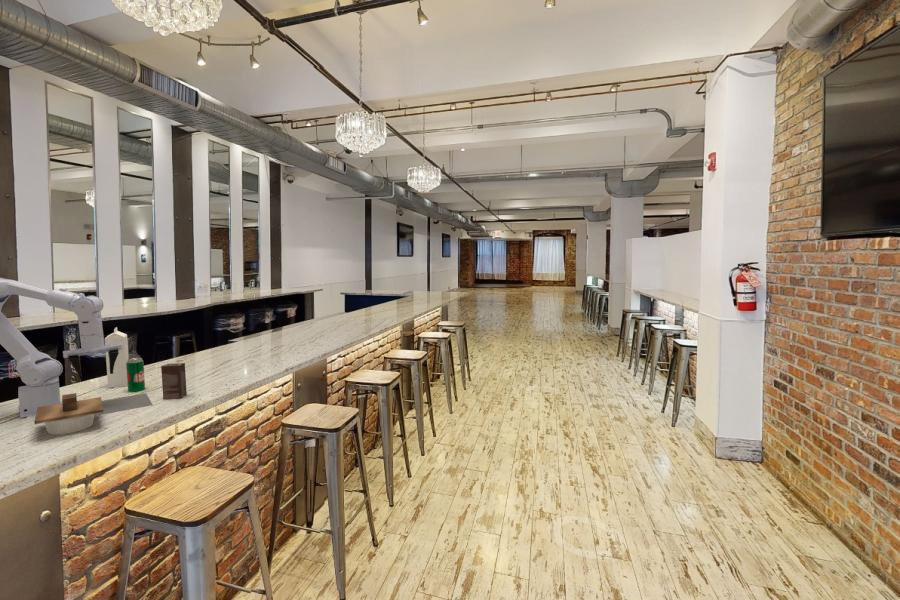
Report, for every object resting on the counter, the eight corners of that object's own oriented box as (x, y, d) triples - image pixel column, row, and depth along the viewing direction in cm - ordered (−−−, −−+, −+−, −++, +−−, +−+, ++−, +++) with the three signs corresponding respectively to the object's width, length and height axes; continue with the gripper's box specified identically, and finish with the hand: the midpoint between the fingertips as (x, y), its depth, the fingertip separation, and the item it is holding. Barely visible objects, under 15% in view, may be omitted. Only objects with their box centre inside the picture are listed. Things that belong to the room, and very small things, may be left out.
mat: (89, 418, 130) (89, 416, 129) (87, 404, 141) (87, 403, 141) (153, 406, 140) (152, 405, 140) (146, 394, 152) (146, 393, 152)
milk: (108, 388, 159) (103, 329, 156) (111, 384, 164) (106, 327, 162) (128, 386, 162) (124, 328, 159) (130, 382, 167) (126, 326, 165)
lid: (34, 424, 112) (33, 408, 111) (37, 409, 122) (36, 395, 122) (103, 412, 121) (102, 397, 120) (101, 399, 131) (100, 385, 131)
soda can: (136, 393, 153) (134, 360, 152) (124, 392, 154) (122, 360, 153) (148, 389, 158) (146, 357, 157) (137, 388, 159) (135, 356, 158)
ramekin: (82, 419, 129) (81, 402, 128) (105, 425, 124) (104, 408, 124) (35, 433, 118) (33, 415, 118) (58, 440, 114) (56, 421, 114)
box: (187, 395, 151) (185, 362, 150) (181, 399, 147) (179, 365, 146) (168, 396, 150) (166, 362, 149) (162, 400, 146) (160, 366, 145)
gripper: (61, 339, 129) (66, 383, 130) (121, 332, 139) (125, 373, 140) (61, 336, 134) (66, 378, 136) (119, 330, 144) (123, 369, 145)
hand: (96, 375), depth 138 cm, fingers open, 7 cm apart
